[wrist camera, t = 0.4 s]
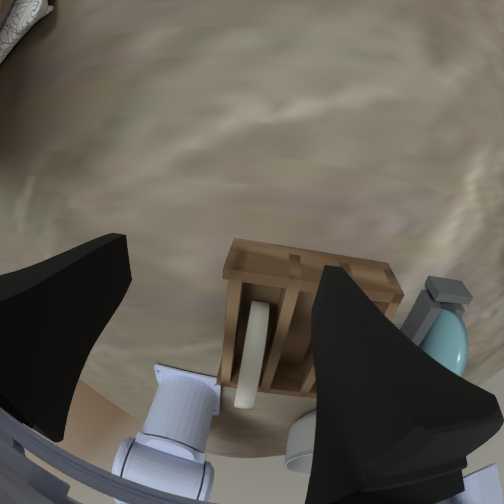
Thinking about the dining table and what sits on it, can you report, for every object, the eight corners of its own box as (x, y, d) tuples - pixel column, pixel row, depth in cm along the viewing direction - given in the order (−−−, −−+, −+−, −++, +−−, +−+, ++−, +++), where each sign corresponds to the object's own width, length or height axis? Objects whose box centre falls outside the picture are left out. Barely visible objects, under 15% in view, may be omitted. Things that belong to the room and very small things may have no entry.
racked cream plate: (257, 350, 25) (247, 426, 18) (244, 348, 25) (231, 424, 18) (271, 280, 21) (263, 368, 14) (255, 278, 21) (240, 364, 14)
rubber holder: (416, 355, 25) (422, 372, 23) (384, 354, 25) (389, 372, 23) (461, 281, 20) (472, 297, 18) (428, 275, 20) (439, 292, 18)
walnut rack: (338, 367, 27) (342, 398, 23) (223, 353, 27) (216, 384, 24) (387, 263, 20) (404, 294, 17) (234, 238, 20) (223, 268, 17)
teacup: (284, 431, 36) (281, 477, 29) (289, 398, 30) (286, 456, 23) (372, 428, 34) (377, 471, 27) (396, 393, 29) (407, 446, 22)
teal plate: (409, 347, 25) (425, 412, 18) (400, 346, 25) (415, 414, 18) (447, 290, 20) (480, 361, 14) (437, 289, 20) (470, 361, 14)
